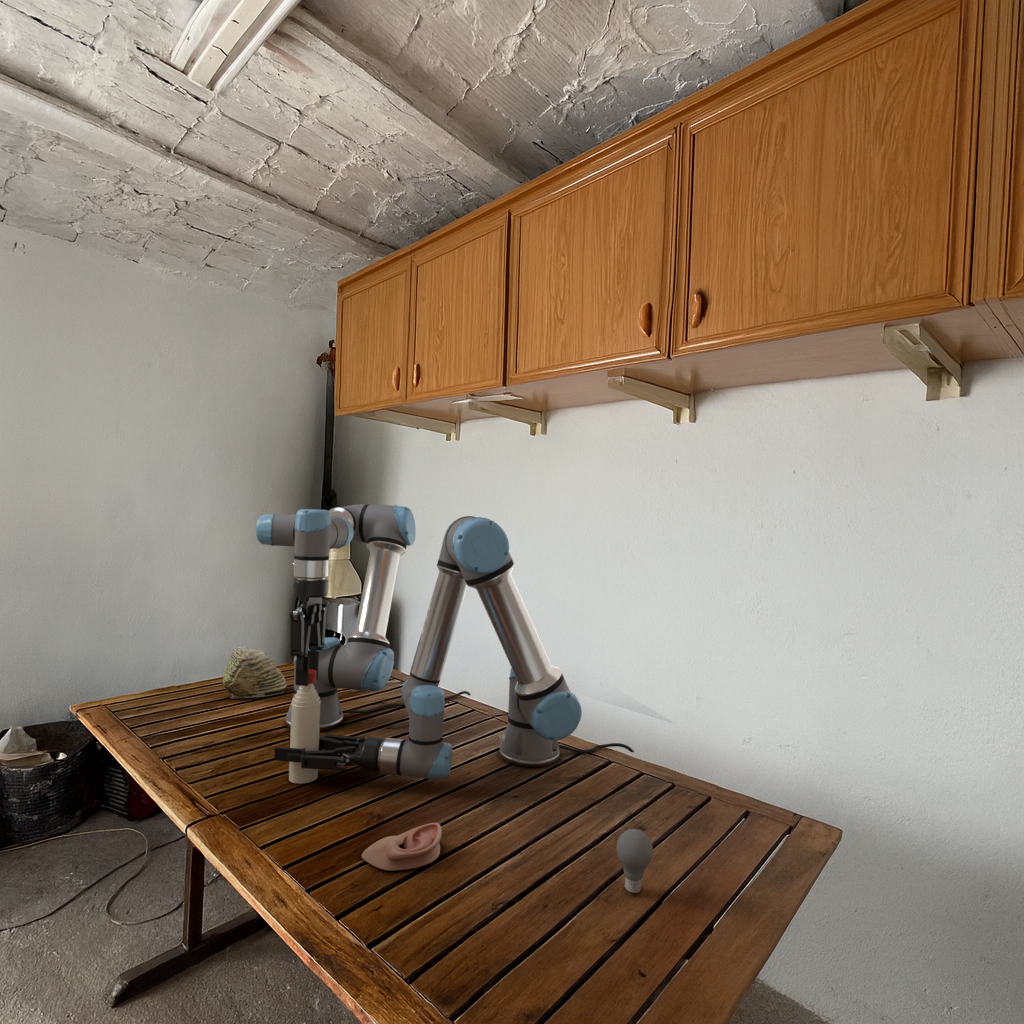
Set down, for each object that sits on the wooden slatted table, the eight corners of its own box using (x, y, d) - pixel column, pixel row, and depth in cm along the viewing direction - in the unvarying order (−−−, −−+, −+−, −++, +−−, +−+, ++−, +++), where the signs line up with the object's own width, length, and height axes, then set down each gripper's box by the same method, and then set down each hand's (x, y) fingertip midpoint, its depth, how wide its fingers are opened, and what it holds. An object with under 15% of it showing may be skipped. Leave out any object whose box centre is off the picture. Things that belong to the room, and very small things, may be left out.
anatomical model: (354, 842, 109) (381, 811, 120) (353, 865, 109) (380, 831, 121) (427, 854, 107) (448, 821, 118) (426, 877, 107) (447, 842, 118)
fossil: (218, 695, 195) (220, 647, 195) (278, 685, 208) (279, 640, 207) (228, 703, 189) (230, 653, 188) (289, 692, 201) (290, 645, 201)
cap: (305, 685, 139) (306, 674, 139) (294, 681, 141) (294, 671, 141) (319, 681, 143) (320, 671, 143) (308, 678, 145) (308, 668, 145)
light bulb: (610, 879, 108) (613, 822, 108) (644, 879, 109) (647, 822, 109) (619, 902, 102) (622, 840, 102) (655, 901, 103) (658, 840, 103)
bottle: (282, 778, 142) (286, 673, 141) (305, 769, 147) (309, 668, 146) (300, 786, 138) (304, 679, 138) (323, 776, 143) (327, 673, 143)
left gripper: (313, 573, 151) (309, 671, 151) (275, 581, 134) (271, 691, 134) (342, 575, 149) (338, 673, 150) (308, 584, 133) (304, 694, 133)
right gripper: (367, 792, 131) (260, 782, 133) (393, 755, 150) (300, 747, 153) (368, 756, 131) (262, 747, 133) (395, 724, 150) (301, 716, 152)
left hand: (306, 681), depth 142 cm, fingers closed on cap, 4 cm apart
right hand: (282, 747), depth 143 cm, fingers closed on bottle, 6 cm apart
